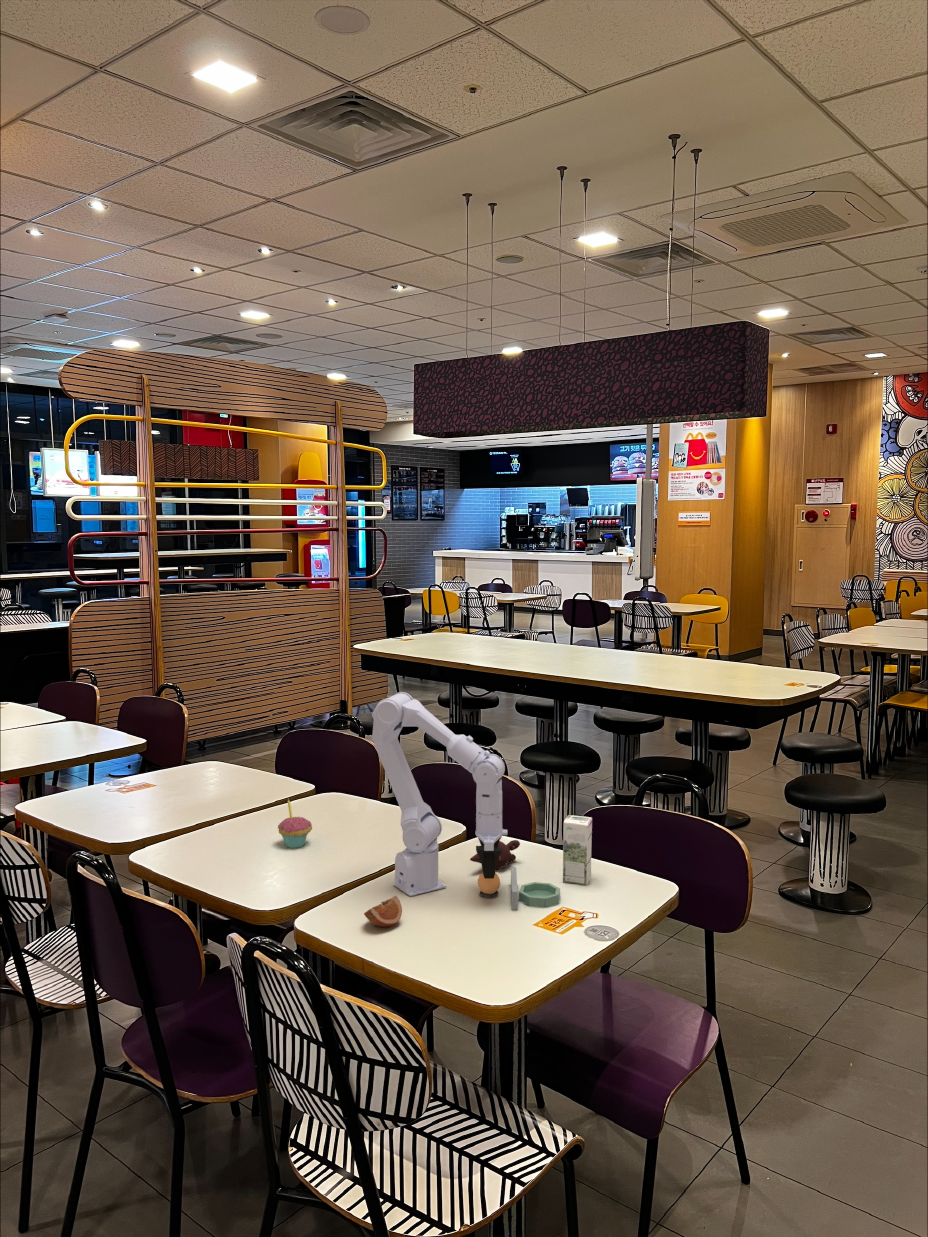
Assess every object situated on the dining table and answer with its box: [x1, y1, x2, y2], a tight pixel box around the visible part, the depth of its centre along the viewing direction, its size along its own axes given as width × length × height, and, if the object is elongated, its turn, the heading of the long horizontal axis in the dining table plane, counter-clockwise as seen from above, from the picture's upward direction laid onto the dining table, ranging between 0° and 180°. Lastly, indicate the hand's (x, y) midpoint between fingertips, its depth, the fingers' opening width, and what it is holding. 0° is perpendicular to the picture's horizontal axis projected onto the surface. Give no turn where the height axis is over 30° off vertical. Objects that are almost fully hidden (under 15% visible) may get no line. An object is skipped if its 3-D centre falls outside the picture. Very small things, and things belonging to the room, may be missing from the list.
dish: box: [518, 881, 561, 909], centre depth 193 cm, size 9×9×2 cm
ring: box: [479, 889, 499, 899], centre depth 195 cm, size 4×4×1 cm
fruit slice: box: [363, 895, 403, 928], centre depth 180 cm, size 8×7×5 cm
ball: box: [477, 872, 501, 894], centre depth 195 cm, size 5×5×5 cm
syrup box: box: [562, 814, 593, 886], centre depth 203 cm, size 6×6×14 cm
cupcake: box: [277, 798, 313, 849], centre depth 226 cm, size 9×8×12 cm
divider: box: [510, 866, 519, 911], centre depth 194 cm, size 14×1×4 cm, turn 178°
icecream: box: [469, 839, 521, 871], centre depth 211 cm, size 7×7×15 cm
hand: (489, 871), depth 195 cm, fingers open, 7 cm apart
